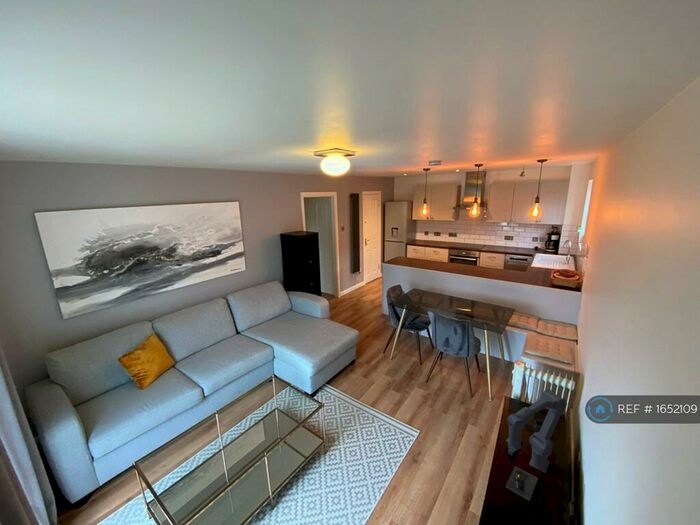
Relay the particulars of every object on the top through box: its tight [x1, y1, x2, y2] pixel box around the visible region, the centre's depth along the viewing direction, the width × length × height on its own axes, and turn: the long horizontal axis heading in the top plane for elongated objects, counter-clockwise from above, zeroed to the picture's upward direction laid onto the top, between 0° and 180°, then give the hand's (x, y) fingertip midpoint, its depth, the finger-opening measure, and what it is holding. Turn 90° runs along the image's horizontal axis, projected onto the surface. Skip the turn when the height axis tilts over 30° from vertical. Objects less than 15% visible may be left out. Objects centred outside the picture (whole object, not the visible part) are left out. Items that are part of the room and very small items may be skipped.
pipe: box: [523, 419, 544, 433], centre depth 185 cm, size 6×13×8 cm, turn 50°
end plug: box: [515, 470, 526, 490], centre depth 150 cm, size 5×5×7 cm
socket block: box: [505, 465, 539, 502], centre depth 153 cm, size 15×11×2 cm
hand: (514, 457), depth 159 cm, fingers open, 7 cm apart
